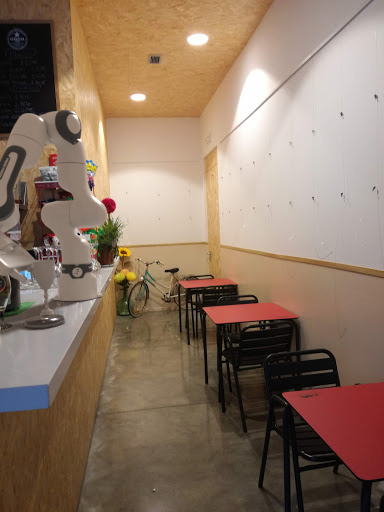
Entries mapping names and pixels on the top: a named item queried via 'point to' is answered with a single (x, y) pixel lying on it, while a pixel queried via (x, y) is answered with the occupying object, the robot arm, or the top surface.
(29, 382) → the top surface
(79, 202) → the robot arm
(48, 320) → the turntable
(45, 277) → the chalice
